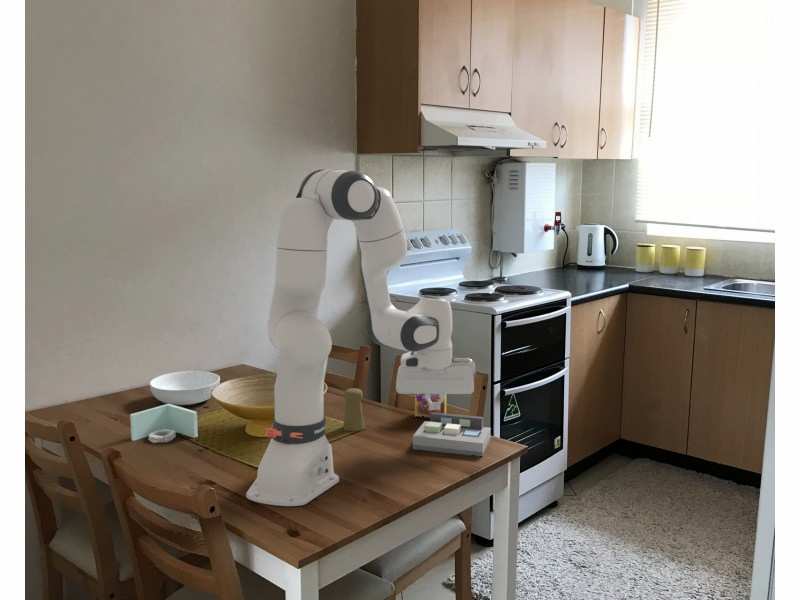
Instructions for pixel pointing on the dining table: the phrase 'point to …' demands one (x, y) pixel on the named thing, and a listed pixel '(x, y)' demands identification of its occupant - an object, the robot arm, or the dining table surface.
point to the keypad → (453, 442)
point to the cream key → (452, 429)
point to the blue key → (471, 433)
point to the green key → (433, 427)
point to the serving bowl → (184, 387)
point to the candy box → (423, 405)
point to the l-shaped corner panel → (163, 423)
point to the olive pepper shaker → (353, 410)
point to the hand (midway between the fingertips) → (434, 409)
